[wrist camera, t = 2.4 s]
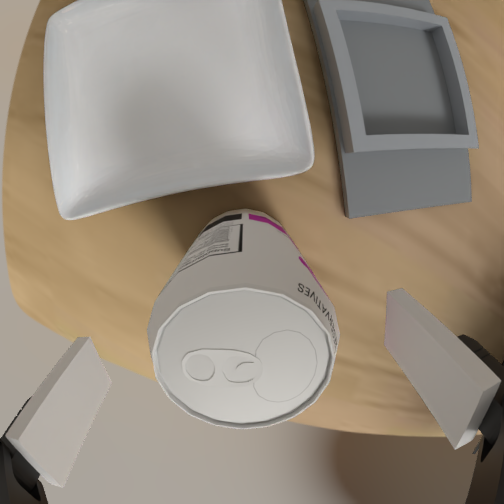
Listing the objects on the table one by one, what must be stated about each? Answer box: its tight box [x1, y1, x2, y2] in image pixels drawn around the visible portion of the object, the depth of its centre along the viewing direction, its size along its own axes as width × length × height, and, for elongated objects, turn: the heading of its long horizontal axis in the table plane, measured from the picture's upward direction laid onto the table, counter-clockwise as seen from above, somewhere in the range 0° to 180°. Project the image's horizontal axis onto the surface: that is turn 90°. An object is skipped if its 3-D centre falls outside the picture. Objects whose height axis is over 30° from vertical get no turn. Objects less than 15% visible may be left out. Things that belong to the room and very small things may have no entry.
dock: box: [303, 0, 479, 219], centre depth 19 cm, size 24×14×3 cm, turn 9°
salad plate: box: [43, 0, 314, 220], centre depth 19 cm, size 21×21×3 cm
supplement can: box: [147, 208, 340, 429], centre depth 18 cm, size 8×8×15 cm
